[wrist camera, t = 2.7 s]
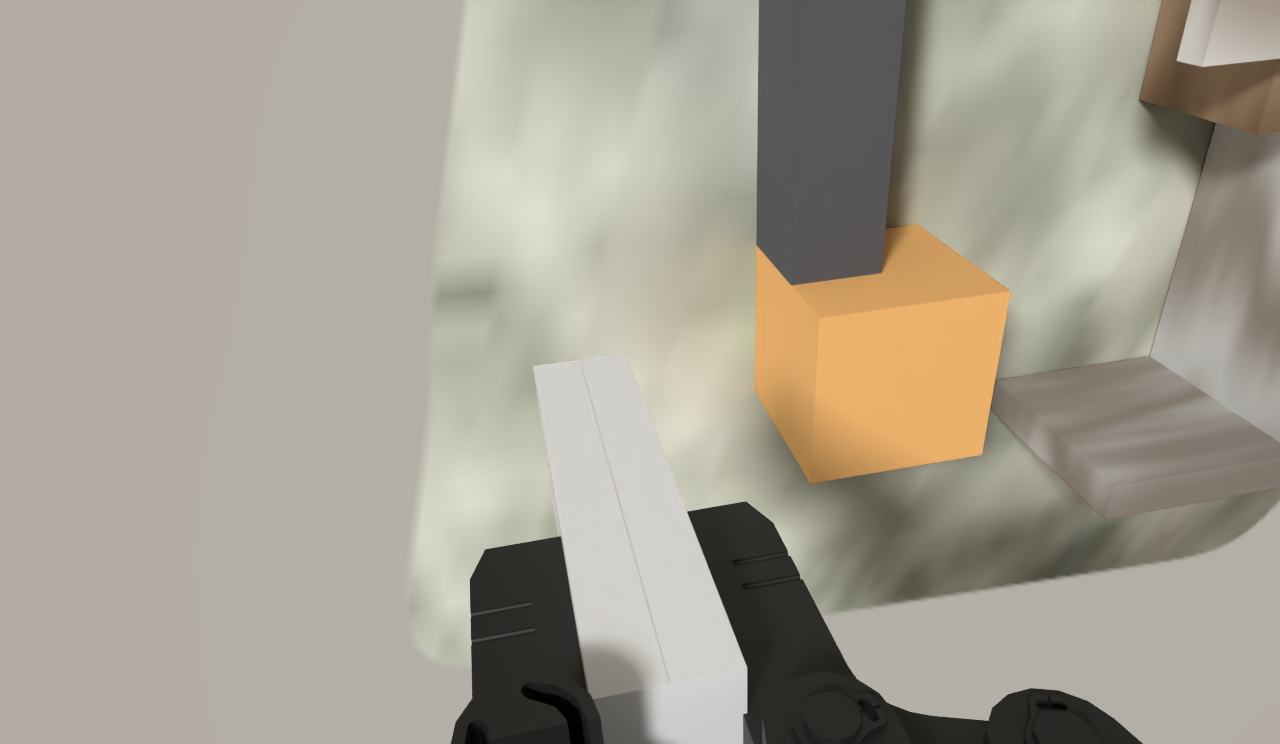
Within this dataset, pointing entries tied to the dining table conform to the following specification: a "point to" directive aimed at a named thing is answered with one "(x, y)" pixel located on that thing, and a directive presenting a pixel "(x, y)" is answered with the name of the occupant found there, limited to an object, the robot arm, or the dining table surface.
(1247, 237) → the rail
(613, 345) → the dining table surface
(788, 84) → the grey and orange bar
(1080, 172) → the dining table surface
